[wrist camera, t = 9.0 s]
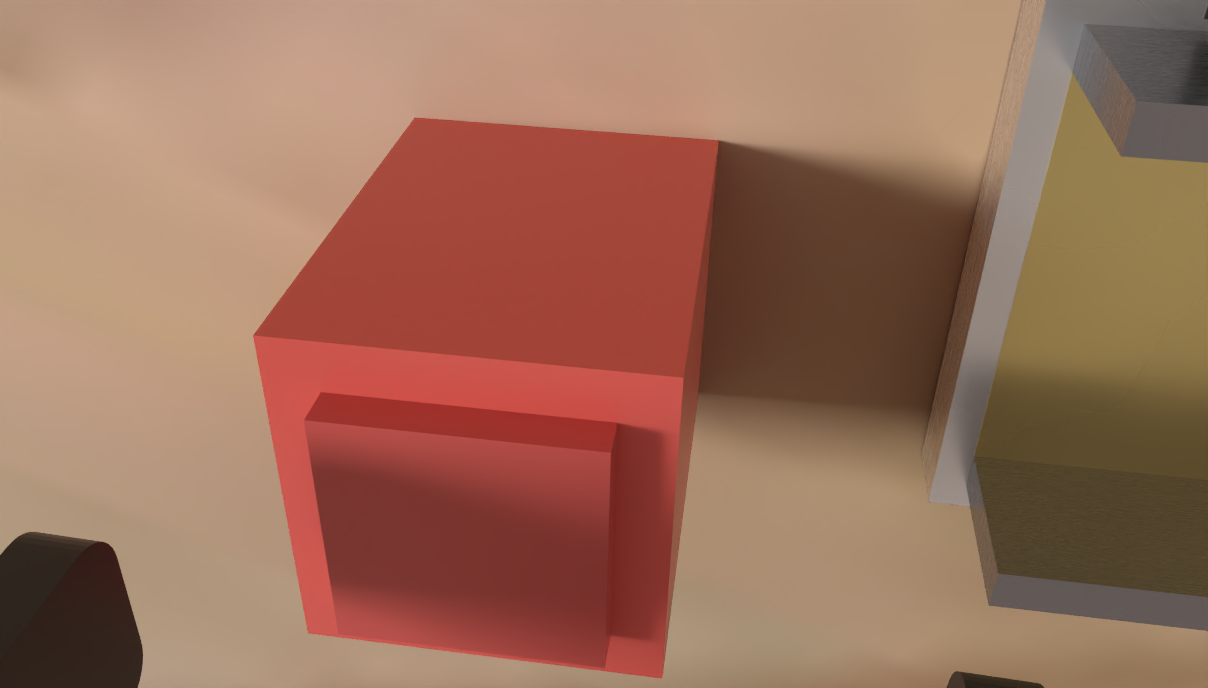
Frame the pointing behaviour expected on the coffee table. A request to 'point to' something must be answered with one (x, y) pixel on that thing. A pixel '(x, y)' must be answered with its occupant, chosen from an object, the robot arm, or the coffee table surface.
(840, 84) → the coffee table surface
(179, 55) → the coffee table surface
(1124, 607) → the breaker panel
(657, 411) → the cap
